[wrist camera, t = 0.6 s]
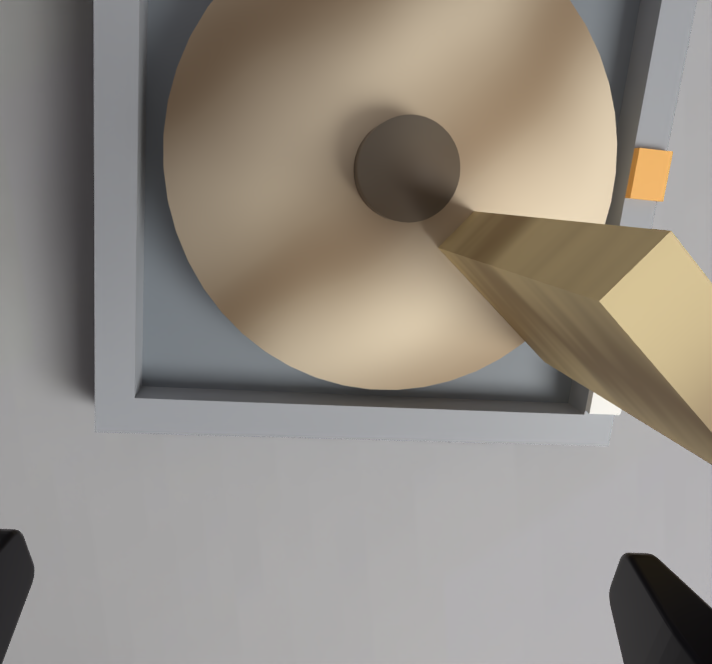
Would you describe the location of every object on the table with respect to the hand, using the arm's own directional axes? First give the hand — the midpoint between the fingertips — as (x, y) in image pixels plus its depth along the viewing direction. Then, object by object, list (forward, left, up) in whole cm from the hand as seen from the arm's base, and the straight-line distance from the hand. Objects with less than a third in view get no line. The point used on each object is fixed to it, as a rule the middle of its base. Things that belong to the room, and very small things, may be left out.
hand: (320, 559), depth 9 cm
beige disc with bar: (+6, -3, -12) cm, 14 cm away
